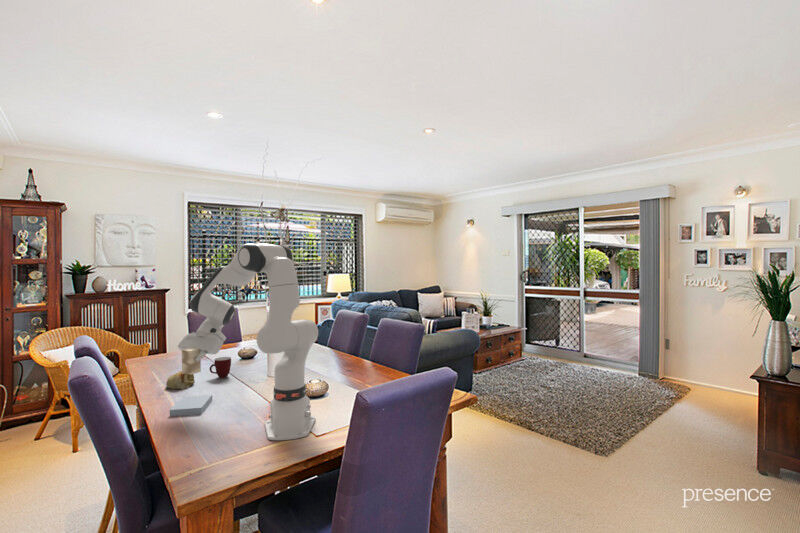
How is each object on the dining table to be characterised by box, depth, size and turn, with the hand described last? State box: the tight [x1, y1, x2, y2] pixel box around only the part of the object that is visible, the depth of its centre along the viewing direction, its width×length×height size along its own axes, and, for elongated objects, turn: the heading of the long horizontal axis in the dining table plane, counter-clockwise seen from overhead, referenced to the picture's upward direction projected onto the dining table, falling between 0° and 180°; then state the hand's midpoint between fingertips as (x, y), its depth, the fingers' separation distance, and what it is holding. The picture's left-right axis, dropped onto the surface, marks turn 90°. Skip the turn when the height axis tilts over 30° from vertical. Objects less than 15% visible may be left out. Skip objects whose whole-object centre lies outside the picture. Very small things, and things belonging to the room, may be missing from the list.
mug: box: [209, 356, 232, 379], centre depth 214 cm, size 10×8×10 cm
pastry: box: [165, 370, 196, 390], centre depth 201 cm, size 14×12×8 cm
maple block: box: [181, 348, 202, 375], centre depth 171 cm, size 5×5×10 cm
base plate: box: [169, 394, 213, 417], centre depth 171 cm, size 16×12×3 cm
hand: (189, 360), depth 170 cm, fingers closed on maple block, 5 cm apart
